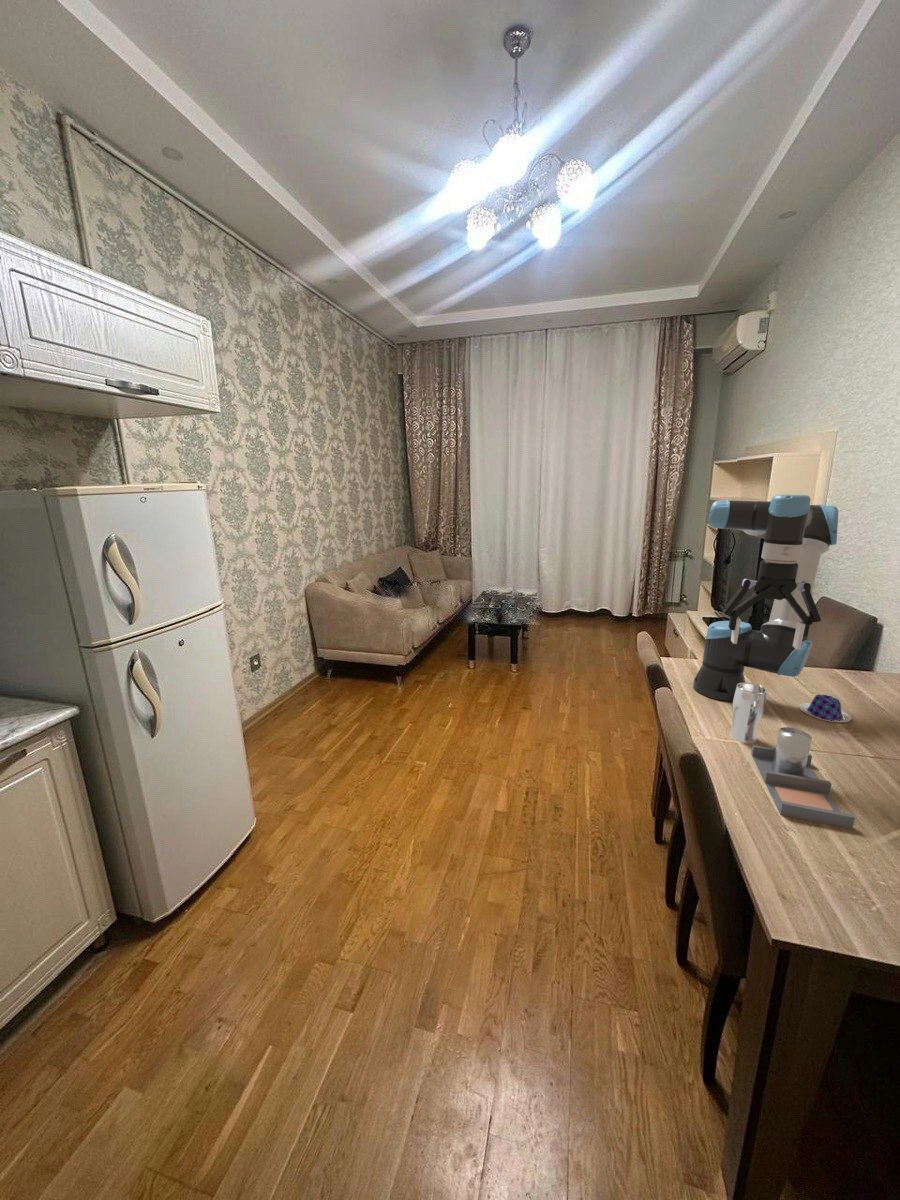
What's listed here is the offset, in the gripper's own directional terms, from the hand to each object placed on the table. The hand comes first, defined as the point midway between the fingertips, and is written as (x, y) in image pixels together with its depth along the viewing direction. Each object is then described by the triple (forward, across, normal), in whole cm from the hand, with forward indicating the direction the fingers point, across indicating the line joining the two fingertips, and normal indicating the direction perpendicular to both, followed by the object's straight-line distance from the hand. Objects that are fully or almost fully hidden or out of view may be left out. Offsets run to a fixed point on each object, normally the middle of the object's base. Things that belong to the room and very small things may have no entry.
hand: (764, 645), depth 116 cm
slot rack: (+27, +4, -20) cm, 34 cm away
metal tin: (+26, +4, -14) cm, 30 cm away
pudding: (+27, +26, +24) cm, 45 cm away
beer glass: (+27, -1, 0) cm, 27 cm away
